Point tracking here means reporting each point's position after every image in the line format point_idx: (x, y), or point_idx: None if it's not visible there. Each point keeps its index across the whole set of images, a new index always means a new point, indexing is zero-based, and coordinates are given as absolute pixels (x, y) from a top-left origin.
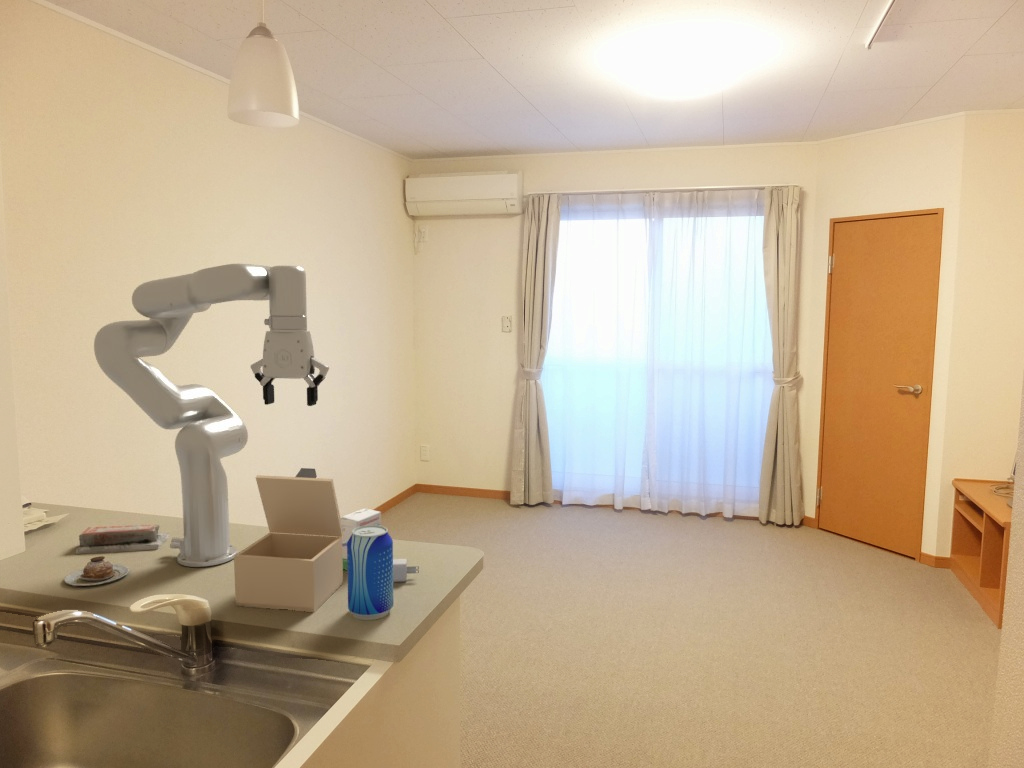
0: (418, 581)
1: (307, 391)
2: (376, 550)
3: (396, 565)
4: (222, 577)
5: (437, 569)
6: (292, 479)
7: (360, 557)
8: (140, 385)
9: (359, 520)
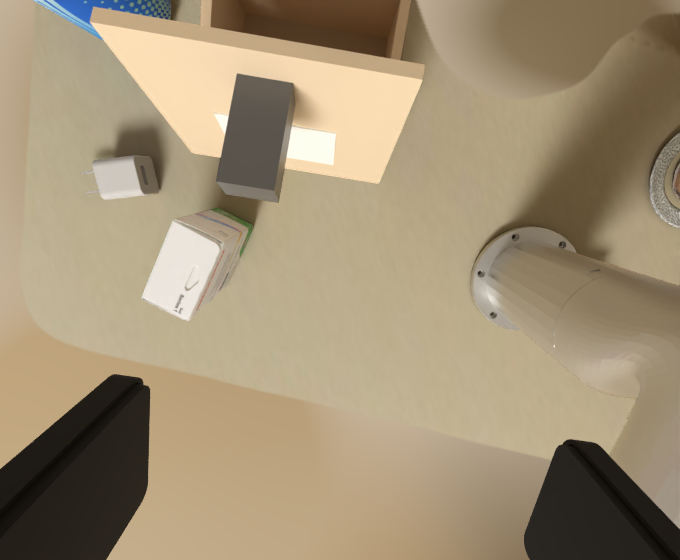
0: (92, 167)
1: (17, 488)
2: None
3: (111, 159)
4: (464, 179)
5: (75, 228)
6: (264, 37)
7: None
8: None
9: (170, 226)
